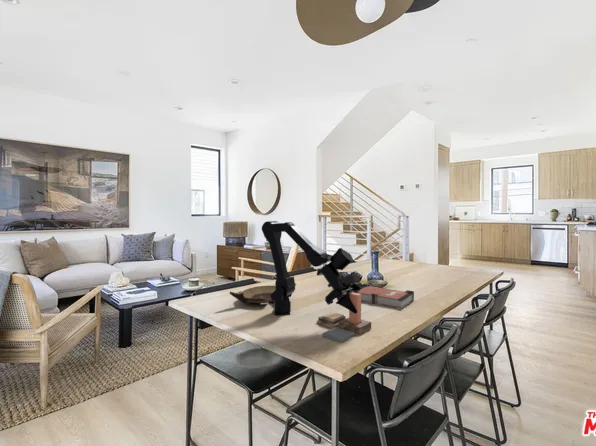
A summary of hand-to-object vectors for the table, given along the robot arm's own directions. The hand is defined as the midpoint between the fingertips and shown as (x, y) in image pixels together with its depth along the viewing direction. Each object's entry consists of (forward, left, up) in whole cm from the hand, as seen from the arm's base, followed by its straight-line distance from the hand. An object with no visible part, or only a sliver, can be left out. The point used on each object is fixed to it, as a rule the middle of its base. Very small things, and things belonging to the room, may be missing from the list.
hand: (358, 311), depth 121 cm
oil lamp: (-33, +44, -7) cm, 55 cm away
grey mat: (-9, -4, -7) cm, 12 cm away
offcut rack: (-4, +5, -7) cm, 9 cm away
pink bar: (-1, +1, -7) cm, 7 cm away
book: (+27, +36, -7) cm, 45 cm away
